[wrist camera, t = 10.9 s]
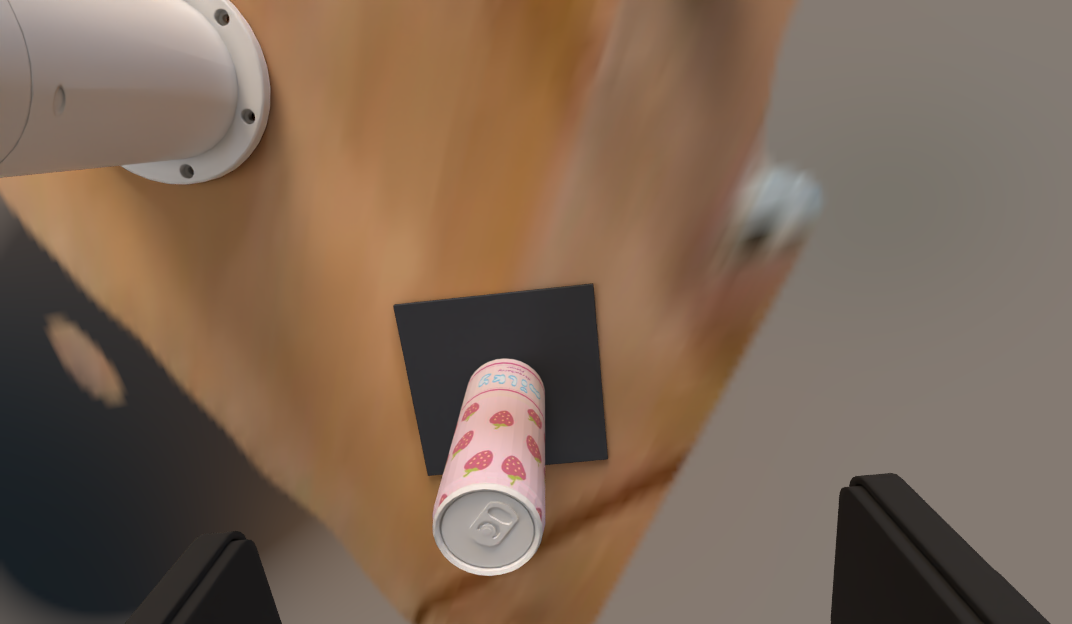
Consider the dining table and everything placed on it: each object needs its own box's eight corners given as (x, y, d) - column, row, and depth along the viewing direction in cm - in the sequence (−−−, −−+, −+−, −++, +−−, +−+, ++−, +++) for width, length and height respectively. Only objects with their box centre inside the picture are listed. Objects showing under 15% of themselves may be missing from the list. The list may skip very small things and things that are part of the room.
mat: (394, 304, 39) (393, 305, 39) (592, 283, 39) (593, 284, 39) (428, 473, 44) (427, 476, 44) (607, 457, 43) (607, 459, 43)
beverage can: (550, 362, 40) (555, 492, 26) (538, 431, 42) (536, 587, 28) (472, 350, 40) (434, 475, 26) (463, 420, 42) (422, 572, 28)
